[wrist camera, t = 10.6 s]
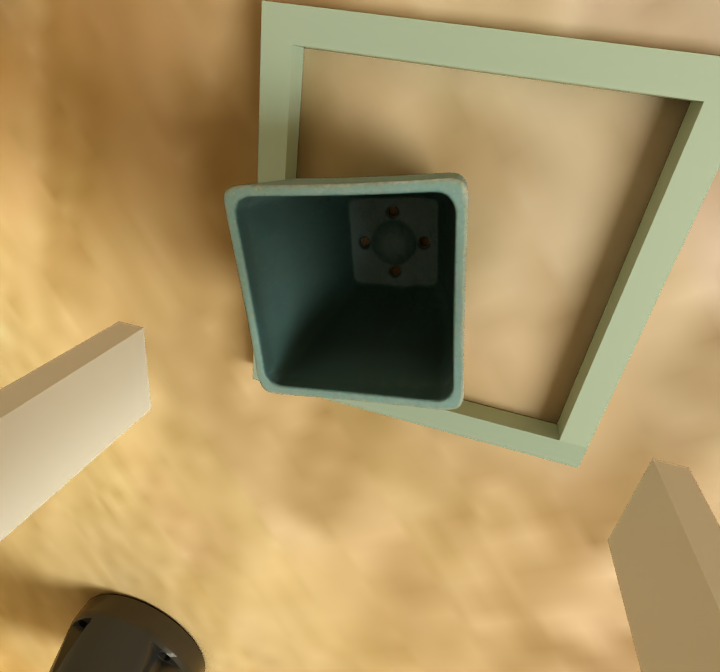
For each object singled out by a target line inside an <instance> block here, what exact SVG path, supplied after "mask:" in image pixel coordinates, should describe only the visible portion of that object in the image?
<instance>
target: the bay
mask: <svg viewBox="0 0 720 672" xmlns="http://www.w3.org/2000/svg"><path fill="white" fill-rule="evenodd" d="M304 48H309V49H317V50H324V51H331V52H338V53H346V54H353V55H360V56H367V57H375V58H382V59H389V60H396V61H403V62H411V63H418V64H425V65H432V66H440V67H447V68H454V69H461V70H469V71H476V72H483V73H490V74H498V75H505V76H512V77H519V78H526V79H534V80H541V81H548V82H555V83H563V84H570V85H577V86H584V87H592V88H599V89H606V90H613V91H621V92H628V93H635V94H642V95H649V96H657V97H664V98H671V99H678V100H686V101H691V103H690V105H689V107H688V110H687V112H686V115H685V117H684V120H683V122H682V124H681V127H680V129H679V132H678V134H677V136H676V139H675V141H674V144H673V146H672V148H671V151H670V153H669V156H668V158H667V160H666V163H665V165H664V168H663V170H662V172H661V175H660V177H659V180H658V182H657V185H656V187H655V189H654V192H653V194H652V197H651V199H650V201H649V204H648V206H647V209H646V211H645V213H644V216H643V218H642V221H641V223H640V225H639V228H638V230H637V233H636V235H635V237H634V240H633V242H632V245H631V247H630V250H629V252H628V254H627V257H626V259H625V262H624V264H623V266H622V269H621V271H620V274H619V276H618V278H617V281H616V283H615V286H614V288H613V290H612V293H611V295H610V298H609V300H608V302H607V305H606V307H605V310H604V312H603V315H602V317H601V319H600V322H599V324H598V327H597V329H596V331H595V334H594V336H593V339H592V341H591V343H590V346H589V348H588V351H587V353H586V355H585V358H584V360H583V363H582V365H581V368H580V370H579V372H578V375H577V377H576V380H575V382H574V384H573V387H572V389H571V392H570V394H569V396H568V399H567V401H566V404H565V406H564V408H563V411H562V413H561V416H560V418H559V420H558V423H557V424H554V423H550V422H546V421H542V420H538V419H534V418H531V417H527V416H523V415H519V414H515V413H511V412H507V411H504V410H500V409H496V408H492V407H488V406H484V405H481V404H477V403H473V402H469V401H465V400H463V402H462V404H461V406H460V407H458V408H457V409H452V410H440V409H438V410H437V409H428V408H419V407H411V406H401V405H390V404H382V403H371V402H363V401H351V400H341V399H330V398H324V399H328V400H331V401H335V402H339V403H342V404H346V405H350V406H353V407H357V408H361V409H364V410H368V411H371V412H375V413H379V414H382V415H386V416H390V417H393V418H397V419H401V420H404V421H408V422H412V423H415V424H419V425H423V426H426V427H430V428H434V429H437V430H441V431H445V432H448V433H452V434H456V435H459V436H463V437H466V438H470V439H474V440H477V441H481V442H485V443H488V444H492V445H496V446H499V447H503V448H507V449H510V450H514V451H518V452H521V453H525V454H529V455H532V456H536V457H540V458H543V459H547V460H551V461H554V462H558V463H561V464H565V465H569V466H572V467H576V468H578V467H579V465H580V463H581V461H582V459H583V457H584V454H585V452H586V450H587V448H588V446H589V444H590V442H591V439H592V437H593V435H594V433H595V431H596V429H597V427H598V425H599V422H600V420H601V418H602V416H603V414H604V412H605V410H606V407H607V405H608V403H609V401H610V399H611V397H612V395H613V393H614V390H615V388H616V386H617V384H618V382H619V380H620V378H621V375H622V373H623V371H624V369H625V367H626V365H627V363H628V361H629V358H630V356H631V354H632V352H633V350H634V348H635V346H636V343H637V341H638V339H639V337H640V335H641V333H642V331H643V329H644V326H645V324H646V322H647V320H648V318H649V316H650V314H651V311H652V309H653V307H654V305H655V303H656V301H657V299H658V297H659V294H660V292H661V290H662V288H663V286H664V284H665V282H666V279H667V277H668V275H669V273H670V271H671V269H672V267H673V265H674V262H675V260H676V258H677V256H678V254H679V252H680V250H681V248H682V245H683V243H684V241H685V239H686V237H687V235H688V233H689V230H690V228H691V226H692V224H693V222H694V220H695V218H696V216H697V213H698V211H699V209H700V207H701V205H702V203H703V201H704V198H705V196H706V194H707V192H708V190H709V188H710V186H711V184H712V181H713V179H714V177H715V175H716V173H717V171H718V169H719V166H720V56H714V55H706V54H698V53H690V52H681V51H673V50H665V49H657V48H649V47H640V46H632V45H624V44H616V43H607V42H599V41H591V40H583V39H575V38H566V37H558V36H550V35H542V34H533V33H525V32H517V31H509V30H501V29H492V28H484V27H476V26H468V25H460V24H451V23H443V22H435V21H427V20H418V19H410V18H402V17H394V16H386V15H377V14H369V13H361V12H353V11H344V10H336V9H328V8H320V7H312V6H303V5H295V4H287V3H279V2H270V1H262V16H261V58H260V100H259V143H258V183H261V182H270V181H278V180H286V179H296V172H297V156H298V139H299V123H300V107H301V90H302V74H303V58H304ZM253 379H255V380H258V381H259V378H258V376H257V370H256V364H255V356H254V354H253Z"/></svg>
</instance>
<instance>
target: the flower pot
mask: <svg viewBox="0 0 720 672" xmlns="http://www.w3.org/2000/svg"><path fill="white" fill-rule="evenodd" d="M224 205H225V211H226V216H227V222H228V226H229V231H230V235H231V241H232V246H233V250H234V255H235V259H236V265H237V269H238V274H239V278H240V283H241V289H242V295H243V299H244V304H245V308H246V313H247V318H248V324H249V328H250V335H251V341H252V345H253V351H254V356H255V364H256V370H257V376H258V378H259V381H260V383H261V385H262V387H263V388H264V389H265V390H266V391H268V392H271V393H276V394H287V395H298V396H309V397H320V398H330V399H341V400H351V401H363V402H371V403H382V404H390V405H401V406H411V407H419V408H428V409H437V410H438V409H440V410H452V409H457V408H458V407H460V406H461V404H462V402H463V397H464V313H465V278H466V247H467V217H468V188H467V184H466V181H465V179H464V178H463V176H461V175H459V174H457V173H435V174H417V175H398V176H376V177H345V178H297V179H286V180H278V181H270V182H261V183H253V184H245V185H238V186H233V187H231V188H229V189H227V190H226V191H225V194H224ZM391 206H395V207H397V208H398V214H397V215H396V216H391V215H390V214H389V211H388V210H389V208H390V207H391ZM363 237H367V238H369V240H370V244H369V245H368V246H364V245H363V244H362V243H361V239H362V238H363ZM422 237H427V238H429V240H430V244H429V245H428V246H427V247H424V246H422V245H421V244H420V239H421V238H422ZM394 266H398V267H399V268H400V270H401V272H400V273H399V274H393V273H392V270H391V269H392V267H394Z"/></svg>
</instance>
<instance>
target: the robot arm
mask: <svg viewBox="0 0 720 672" xmlns="http://www.w3.org/2000/svg"><path fill="white" fill-rule="evenodd" d="M149 410H151V401H150V390H149V379H148V368H147V357H146V346H145V335H144V328H143V327H139V326H135V325H131V324H127V323H123V322H120V321H119V322H117V323H116V324H114V325H112V326H110V327H109V328H107V329H105V330H103V331H102V332H100V333H98V334H97V335H95V336H93V337H91V338H90V339H88V340H86V341H84V342H83V343H81V344H79V345H77V346H76V347H74V348H72V349H70V350H69V351H67V352H65V353H63V354H62V355H60V356H58V357H56V358H55V359H53V360H51V361H49V362H48V363H46V364H44V365H43V366H41V367H39V368H37V369H36V370H34V371H32V372H30V373H29V374H27V375H25V376H23V377H22V378H20V379H18V380H16V381H15V382H13V383H11V384H9V385H8V386H6V387H4V388H2V389H1V390H0V541H2V540H3V539H4V538H5V537H6V536H7V535H8V534H10V533H11V532H12V531H13V530H14V529H15V528H16V527H18V526H19V525H20V524H21V523H22V522H23V521H24V520H25V519H27V518H28V517H29V516H30V515H31V514H32V513H33V512H35V511H36V510H37V509H38V508H39V507H40V506H41V505H43V504H44V503H45V502H46V501H47V500H48V499H49V498H51V497H52V496H53V495H54V494H55V493H56V492H57V491H58V490H60V489H61V488H62V487H63V486H64V485H65V484H66V483H68V482H69V481H70V480H71V479H72V478H73V477H74V476H76V475H77V474H78V473H79V472H80V471H81V470H82V469H83V468H85V467H86V466H87V465H88V464H89V463H90V462H91V461H93V460H94V459H95V458H96V457H97V456H98V455H99V454H101V453H102V452H103V451H104V450H105V449H106V448H107V447H108V446H110V445H111V444H112V443H113V442H114V441H115V440H116V439H118V438H119V437H120V436H121V435H122V434H123V433H124V432H126V431H127V430H128V429H129V428H130V427H131V426H132V425H133V424H135V423H136V422H137V421H138V420H139V419H140V418H141V417H143V416H144V415H145V414H146V413H147V412H148V411H149ZM608 543H609V547H610V551H611V555H612V559H613V563H614V567H615V571H616V575H617V579H618V583H619V587H620V591H621V594H622V598H623V602H624V606H625V610H626V614H627V618H628V622H629V626H630V630H631V634H632V638H633V642H634V646H635V650H636V653H637V657H638V661H639V665H640V669H641V672H720V526H719V524H718V522H717V520H716V518H715V516H714V515H713V513H712V511H711V509H710V507H709V505H708V503H707V501H706V499H705V498H704V496H703V494H702V492H701V490H700V488H699V486H698V484H697V482H696V480H695V479H694V477H693V475H692V473H691V471H690V469H689V468H688V467H684V466H680V465H676V464H672V463H668V462H664V461H660V460H656V459H652V461H651V463H650V465H649V466H648V468H647V470H646V472H645V474H644V475H643V477H642V479H641V481H640V483H639V484H638V486H637V488H636V490H635V492H634V494H633V495H632V497H631V499H630V501H629V503H628V504H627V506H626V508H625V510H624V512H623V514H622V515H621V517H620V519H619V521H618V523H617V524H616V526H615V528H614V530H613V532H612V533H611V535H610V537H609V539H608ZM204 671H205V662H204V658H203V656H202V653H201V651H200V649H199V648H198V646H197V645H196V643H195V642H194V641H193V639H192V638H191V637H190V636H189V635H188V634H187V633H186V632H185V631H184V630H183V629H182V628H181V627H180V626H179V625H178V624H177V623H175V622H174V621H173V620H171V619H170V618H169V617H167V616H166V615H164V614H163V613H161V612H160V611H158V610H156V609H154V608H153V607H151V606H149V605H147V604H144V603H142V602H140V601H137V600H135V599H132V598H128V597H124V596H120V595H111V594H106V595H99V596H96V597H94V598H92V599H91V600H89V601H88V603H87V604H86V605H85V606H84V607H83V609H82V610H81V611H80V612H79V614H78V615H77V616H76V617H75V619H74V620H73V622H72V624H71V626H70V628H69V630H68V632H67V634H66V637H65V639H64V641H63V643H62V645H61V647H60V650H59V652H58V654H57V656H56V658H55V660H54V663H53V665H52V667H51V669H50V671H49V672H204Z"/></svg>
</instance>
